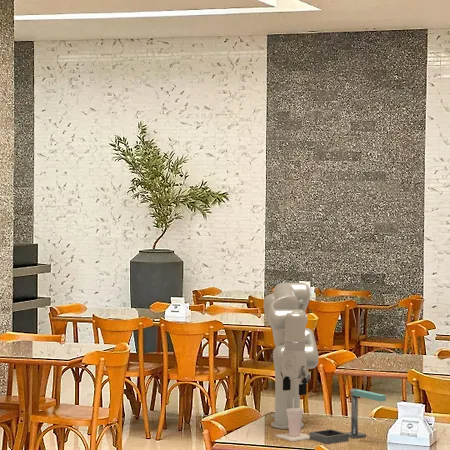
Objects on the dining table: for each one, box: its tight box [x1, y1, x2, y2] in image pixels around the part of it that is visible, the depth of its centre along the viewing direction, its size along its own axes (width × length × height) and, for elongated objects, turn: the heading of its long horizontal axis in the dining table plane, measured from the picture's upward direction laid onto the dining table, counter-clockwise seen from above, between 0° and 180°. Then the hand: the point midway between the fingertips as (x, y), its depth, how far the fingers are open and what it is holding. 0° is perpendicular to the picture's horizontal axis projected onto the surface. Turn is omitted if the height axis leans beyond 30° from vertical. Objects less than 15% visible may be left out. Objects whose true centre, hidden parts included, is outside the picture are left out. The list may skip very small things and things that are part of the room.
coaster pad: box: [275, 432, 311, 442], centre depth 368 cm, size 10×10×1 cm
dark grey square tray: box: [309, 428, 349, 445], centre depth 364 cm, size 10×10×2 cm
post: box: [346, 394, 367, 439], centre depth 370 cm, size 6×6×15 cm
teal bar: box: [350, 388, 387, 402], centre depth 364 cm, size 18×3×2 cm, turn 32°
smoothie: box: [286, 398, 305, 437], centre depth 368 cm, size 6×6×14 cm
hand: (294, 392), depth 369 cm, fingers open, 9 cm apart
